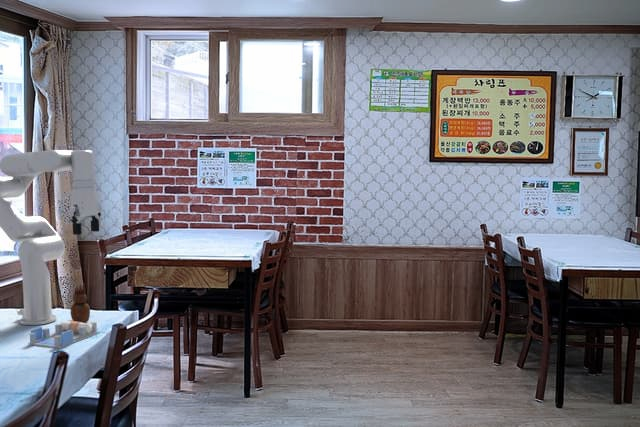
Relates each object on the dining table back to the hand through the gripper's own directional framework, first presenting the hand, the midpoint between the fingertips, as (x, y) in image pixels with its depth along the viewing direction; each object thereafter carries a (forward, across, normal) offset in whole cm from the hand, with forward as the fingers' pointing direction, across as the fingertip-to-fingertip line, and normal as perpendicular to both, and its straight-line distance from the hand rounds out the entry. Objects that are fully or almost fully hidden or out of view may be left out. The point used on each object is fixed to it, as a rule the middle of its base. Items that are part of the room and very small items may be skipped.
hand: (86, 232), depth 233 cm
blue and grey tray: (+35, +15, +1) cm, 38 cm away
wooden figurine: (+35, -4, -8) cm, 36 cm away
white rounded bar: (+32, +9, +1) cm, 33 cm away
